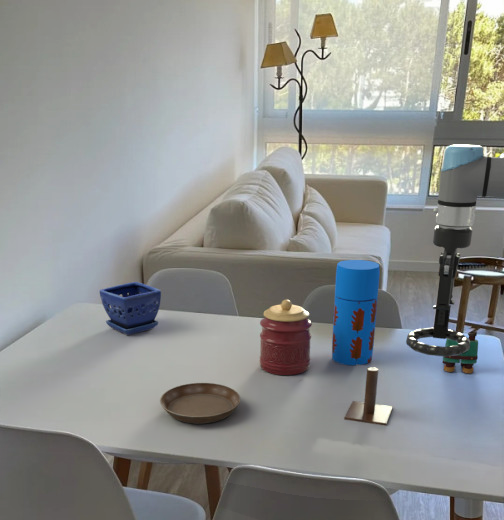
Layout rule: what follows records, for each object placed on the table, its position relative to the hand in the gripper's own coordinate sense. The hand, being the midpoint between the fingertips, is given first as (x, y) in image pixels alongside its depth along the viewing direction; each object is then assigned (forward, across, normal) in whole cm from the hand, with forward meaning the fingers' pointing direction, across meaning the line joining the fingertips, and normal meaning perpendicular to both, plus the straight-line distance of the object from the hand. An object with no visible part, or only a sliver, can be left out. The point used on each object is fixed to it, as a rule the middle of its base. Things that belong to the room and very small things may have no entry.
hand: (440, 335), depth 154 cm
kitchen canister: (+17, -11, -38) cm, 43 cm away
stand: (+16, +12, -12) cm, 24 cm away
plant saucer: (+17, +21, -48) cm, 55 cm away
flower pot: (+16, -24, -89) cm, 94 cm away
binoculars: (+17, -26, +4) cm, 31 cm away
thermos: (+17, -23, -23) cm, 37 cm away
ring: (0, +6, 0) cm, 6 cm away
